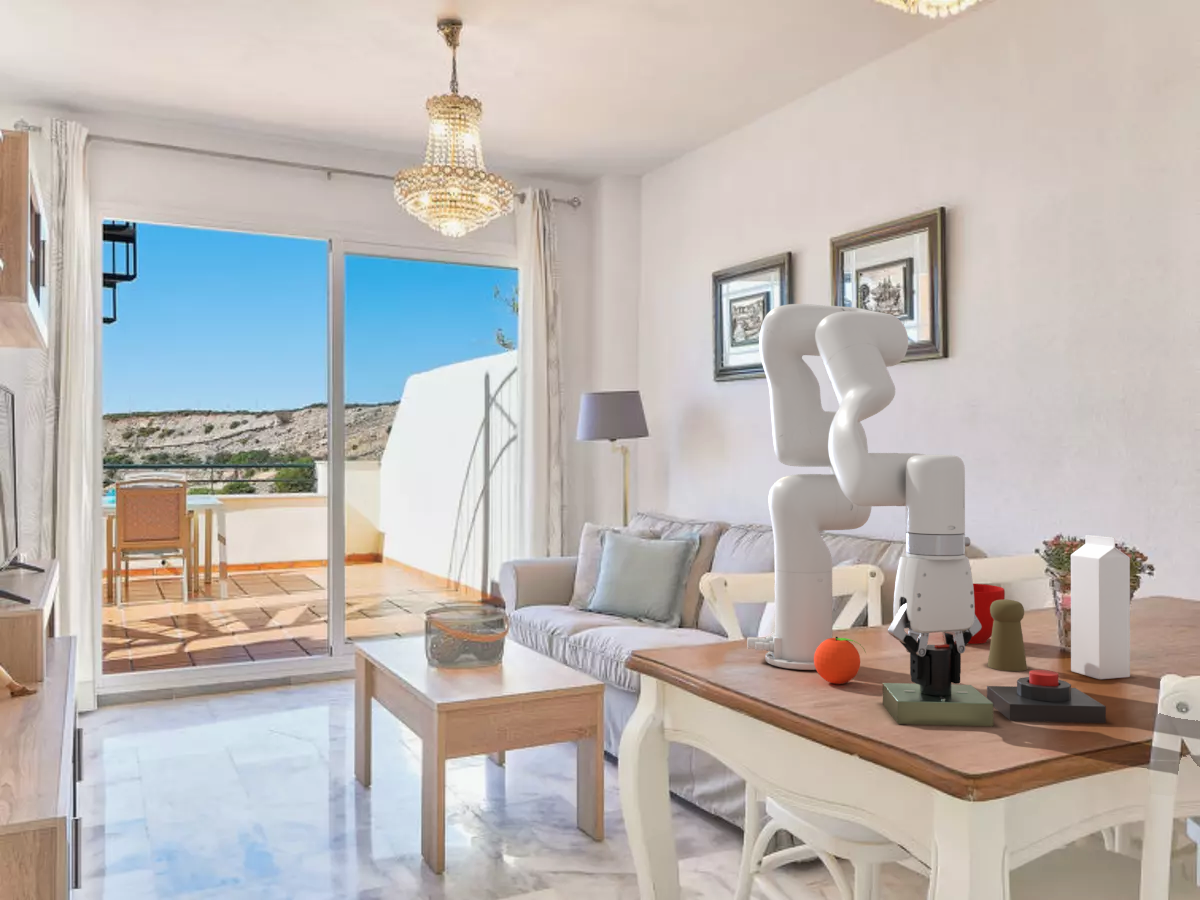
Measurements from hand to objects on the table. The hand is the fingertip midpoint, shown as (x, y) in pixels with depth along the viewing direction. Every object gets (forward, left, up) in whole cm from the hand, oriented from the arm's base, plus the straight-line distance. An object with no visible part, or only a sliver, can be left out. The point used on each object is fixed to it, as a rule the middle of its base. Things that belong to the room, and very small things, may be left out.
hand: (935, 681), depth 128 cm
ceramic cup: (+17, +54, -5) cm, 57 cm away
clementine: (-10, +17, -5) cm, 20 cm away
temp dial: (0, 0, -1) cm, 1 cm away
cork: (+19, +31, -5) cm, 37 cm away
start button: (+15, +3, -1) cm, 15 cm away
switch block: (+15, +3, -5) cm, 16 cm away
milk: (+32, +27, -5) cm, 42 cm away
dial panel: (0, 0, -5) cm, 5 cm away
